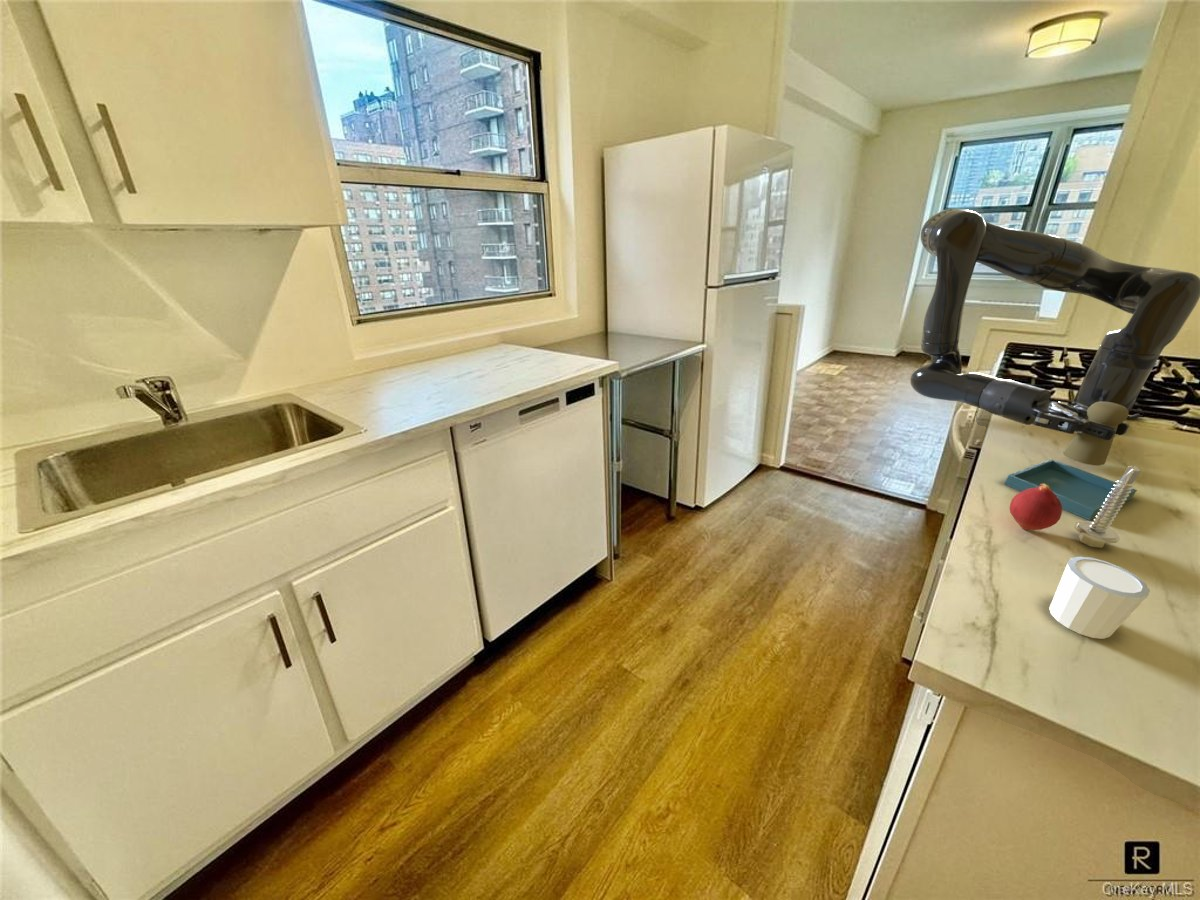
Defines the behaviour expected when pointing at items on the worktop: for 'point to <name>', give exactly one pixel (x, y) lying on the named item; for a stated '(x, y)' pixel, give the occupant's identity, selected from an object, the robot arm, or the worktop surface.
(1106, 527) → the screw
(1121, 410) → the cork
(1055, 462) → the tray
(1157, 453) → the worktop surface
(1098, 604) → the white faceted cylinder
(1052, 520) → the onion
